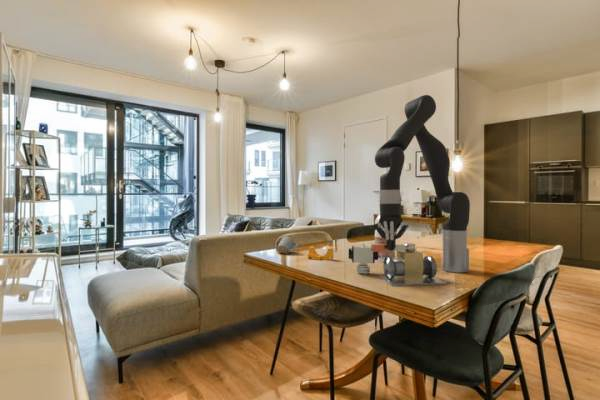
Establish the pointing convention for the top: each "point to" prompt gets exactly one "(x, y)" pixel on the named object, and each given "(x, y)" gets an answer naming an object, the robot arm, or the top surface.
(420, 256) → the valve body
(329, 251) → the pipe clamp
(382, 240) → the fruit juice
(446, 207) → the robot arm
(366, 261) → the pneumatic valve
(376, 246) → the lever
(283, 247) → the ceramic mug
